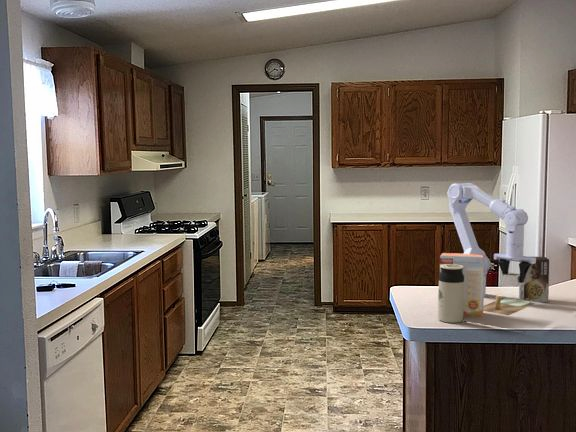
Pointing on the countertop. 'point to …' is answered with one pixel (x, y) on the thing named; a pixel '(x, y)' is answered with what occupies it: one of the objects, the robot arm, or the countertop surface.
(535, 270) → the coffee box
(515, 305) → the board
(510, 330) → the countertop surface
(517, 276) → the white square frame
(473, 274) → the cracker box
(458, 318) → the travel mug
